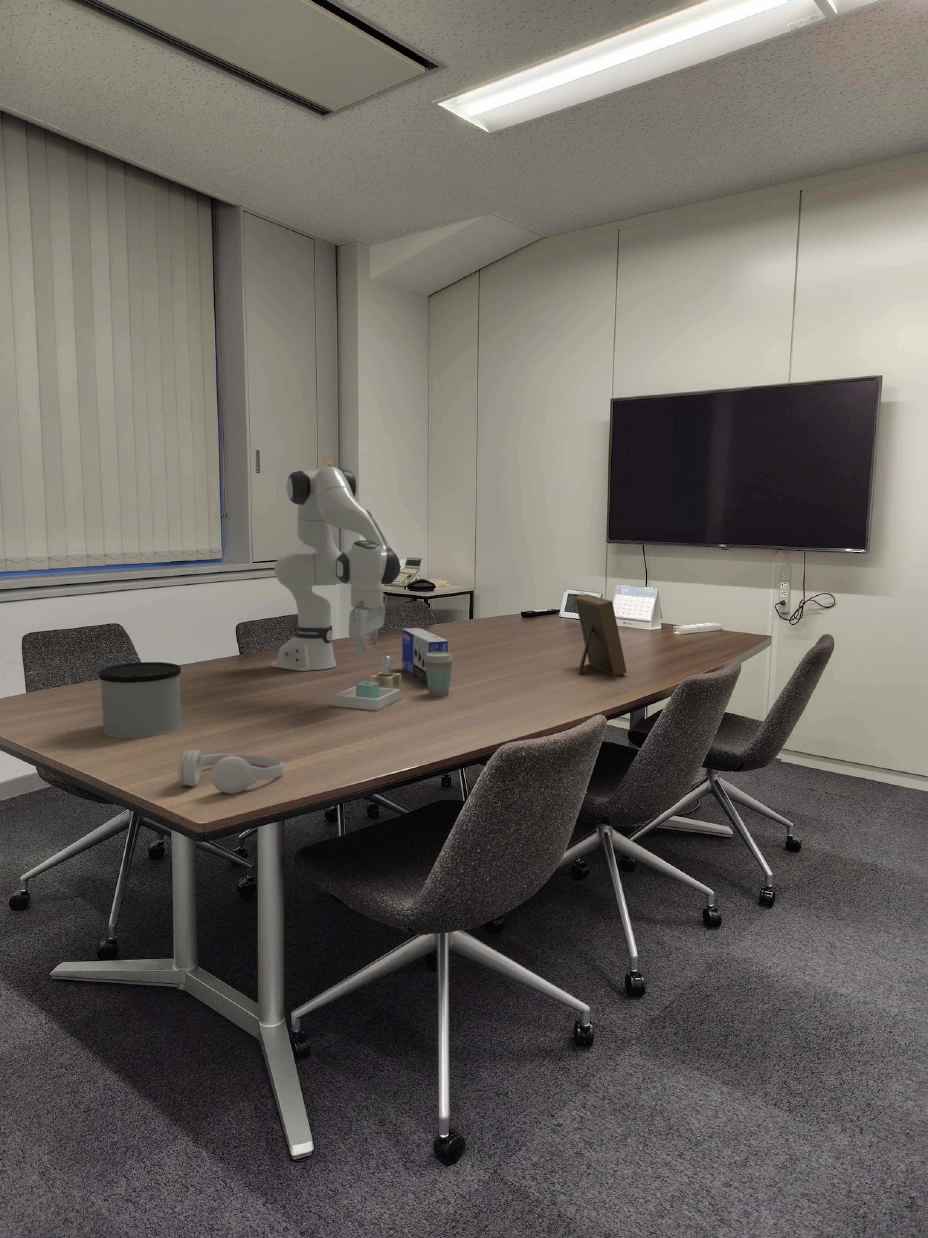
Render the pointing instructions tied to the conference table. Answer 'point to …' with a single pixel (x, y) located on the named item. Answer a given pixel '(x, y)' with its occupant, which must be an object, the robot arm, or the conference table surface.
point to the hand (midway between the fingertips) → (366, 648)
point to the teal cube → (367, 689)
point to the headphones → (227, 770)
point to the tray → (367, 699)
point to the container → (141, 699)
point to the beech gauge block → (387, 680)
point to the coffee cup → (438, 672)
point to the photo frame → (600, 635)
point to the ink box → (419, 650)
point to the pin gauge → (386, 666)
